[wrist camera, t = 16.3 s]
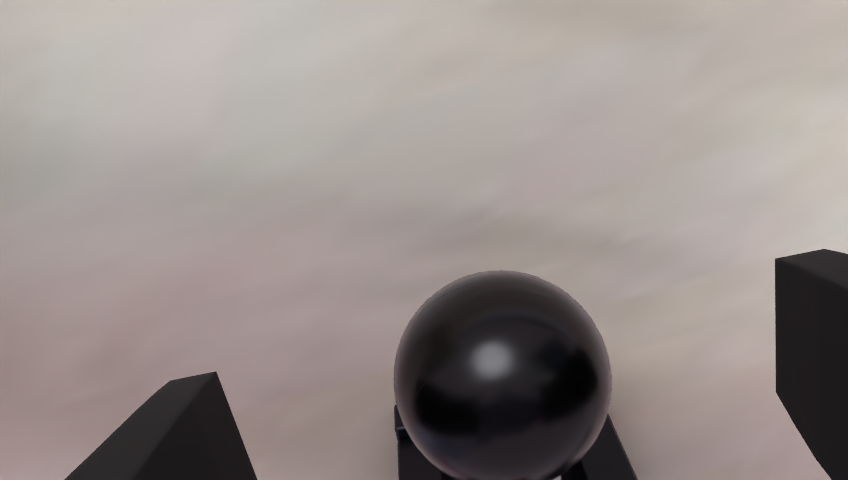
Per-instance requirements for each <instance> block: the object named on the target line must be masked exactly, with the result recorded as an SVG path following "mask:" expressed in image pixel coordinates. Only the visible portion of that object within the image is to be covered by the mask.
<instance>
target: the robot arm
mask: <svg viewBox="0 0 848 480" xmlns="http://www.w3.org/2000/svg"><path fill="white" fill-rule="evenodd" d="M775 312H776V393H777V395H778V396H779V398H780V400H781V402H782V403H783V405H784V407H785V408H786V410H787V412H788V414H789V415H790V417H791V419H792V421H793V422H794V424H795V426H796V428H797V429H798V431H799V432H800V434H801V436H802V437H803V439H804V441H805V442H806V444H807V445H808V447H809V449H810V450H811V452H812V453H813V455H814V457H815V458H816V460H817V461H818V462H819V464H820V465H821V466H822V468H823V469H824V470H825V471H826V473H827V474H828V475H829V477H830V478H831V479H832V480H848V254H845V253H841V252H836V251H831V250H827V249H821V250H816V251H812V252H807V253H802V254H797V255H792V256H787V257H782V258H777V259H775ZM65 480H257V478H256V475H255V472H254V470H253V467H252V465H251V462H250V459H249V457H248V454H247V451H246V449H245V446H244V444H243V441H242V438H241V436H240V433H239V430H238V428H237V425H236V422H235V420H234V417H233V415H232V412H231V409H230V407H229V404H228V401H227V399H226V396H225V394H224V391H223V388H222V386H221V383H220V380H219V378H218V375H217V373H216V372H211V373H206V374H201V375H196V376H191V377H186V378H181V379H176V380H171V381H169V382H168V383H167V384H166V385H164V386H163V387H162V388H161V389H159V390H158V391H157V392H156V393H155V394H154V395H152V396H151V397H150V398H149V399H148V400H147V401H146V402H145V403H144V404H143V405H142V406H141V407H139V408H138V409H137V410H136V411H135V412H134V413H133V414H132V415H131V416H130V417H129V418H128V419H127V420H126V421H125V422H124V423H123V424H122V425H121V426H120V427H119V428H118V429H117V430H115V431H114V432H113V433H112V434H111V435H110V436H109V437H108V438H107V439H106V440H105V441H104V442H103V443H102V444H101V445H100V446H99V447H98V448H97V449H96V450H95V451H94V452H93V453H92V454H91V455H90V456H89V457H88V458H87V459H85V460H84V461H83V462H82V463H81V464H80V465H79V466H78V467H77V468H76V469H75V470H74V471H73V472H72V473H71V474H70V475H69V476H68V477H67V478H66V479H65Z"/></svg>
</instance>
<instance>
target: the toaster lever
mask: <svg viewBox="0 0 848 480" xmlns="http://www.w3.org/2000/svg"><path fill="white" fill-rule="evenodd" d="M611 385H612V376H611V368H610V362H609V356H608V353H607V350H606V347H605V344H604V341H603V338H602V336H601V334H600V332H599V330H598V329H597V327H596V325H595V323H594V322H593V320H592V318H591V317H590V316H589V315H588V314H587V312H586V311H585V310H584V309H583V308H582V306H581V305H580V304H579V303H578V302H577V301H576V300H575V299H573V298H572V297H571V296H570V295H569V294H567V293H566V292H565V291H564V290H562V289H561V288H559V287H557V286H556V285H554V284H552V283H550V282H548V281H546V280H543V279H541V278H539V277H536V276H533V275H530V274H526V273H520V272H514V271H502V270H499V271H486V272H479V273H475V274H472V275H468V276H465V277H463V278H460V279H457V280H455V281H453V282H451V283H450V284H448V285H446V286H445V287H443V288H442V289H440V290H439V291H437V292H436V293H435V294H433V295H432V296H431V297H430V298H429V299H427V300H426V301H425V302H424V304H423V305H422V306H421V307H420V308H419V309H418V311H417V312H416V313H415V315H414V316H413V317H412V319H411V320H410V322H409V323H408V325H407V327H406V329H405V331H404V333H403V336H402V338H401V341H400V343H399V346H398V350H397V354H396V359H395V366H394V392H395V398H396V403H397V408H398V411H399V414H400V417H401V420H402V422H403V424H404V427H405V429H406V431H407V432H408V434H409V436H410V438H411V439H412V441H413V442H414V444H415V446H416V447H417V448H418V449H419V450H420V451H421V453H422V454H423V455H424V456H425V457H426V458H427V459H428V460H429V461H430V462H431V463H432V464H434V465H435V466H436V467H437V468H438V469H440V470H441V471H442V472H444V473H445V474H447V475H449V476H450V477H452V478H454V479H456V480H561V475H562V474H563V473H565V472H566V471H568V470H569V469H570V468H572V467H573V466H574V465H575V464H577V463H578V462H579V461H580V460H581V459H582V458H583V457H584V455H585V454H586V453H587V451H588V450H589V449H590V448H591V446H592V445H593V444H594V442H595V441H596V439H597V437H598V435H599V433H600V431H601V429H602V427H603V425H604V422H605V419H606V417H607V413H608V409H609V404H610V399H611Z"/></svg>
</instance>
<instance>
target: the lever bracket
mask: <svg viewBox="0 0 848 480" xmlns="http://www.w3.org/2000/svg"><path fill="white" fill-rule="evenodd" d="M394 419H395V432H396V436H397V440H398V475H399V480H456V479H454V478H452V477H450V476H449V475H447V474H445V473H444V472H442V471H441V470H440V469H438V468H437V467H436V466H435V465H434V464H432V463H431V462H430V461H429V460H428V459H427V458H426V457H425V456H424V455H423V454H422V453H421V451H420V450H419V449H418V448H417V447H416V446H415V444H414V442H413V441H412V439H411V438H410V436H409V434H408V432H407V431H406V429H405V427H404V424H403V422H402V420H401V417H400V414H399V411H398V408H397V405H395V407H394ZM561 480H638V479H637V477H636V475H635V473H634V470H633V468H632V466H631V464H630V461H629V459H628V457H627V455H626V453H625V450H624V448H623V446H622V444H621V441H620V439H619V437H618V435H617V433H616V430H615V428H614V426H613V424H612V421H611V419H610V417H609V415H608V413H607V417H606V419H605V422H604V425H603V427H602V429H601V431H600V433H599V435H598V437H597V439H596V441H595V442H594V444H593V445H592V446H591V448H590V449H589V450H588V451H587V453H586V454H585V455H584V457H583V458H582V459H581V460H580V461H579V462H578V463H577V464H575V465H574V466H573V467H572V468H570V469H569V470H568V471H566V472H565V473H563V474H562V475H561Z"/></svg>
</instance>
